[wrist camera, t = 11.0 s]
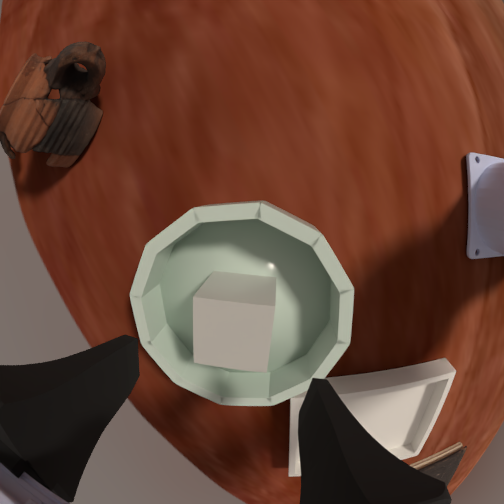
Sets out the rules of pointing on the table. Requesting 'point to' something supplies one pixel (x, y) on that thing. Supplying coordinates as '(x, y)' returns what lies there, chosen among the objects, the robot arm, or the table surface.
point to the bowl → (253, 263)
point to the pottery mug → (54, 105)
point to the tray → (387, 406)
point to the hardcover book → (442, 463)
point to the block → (234, 321)
